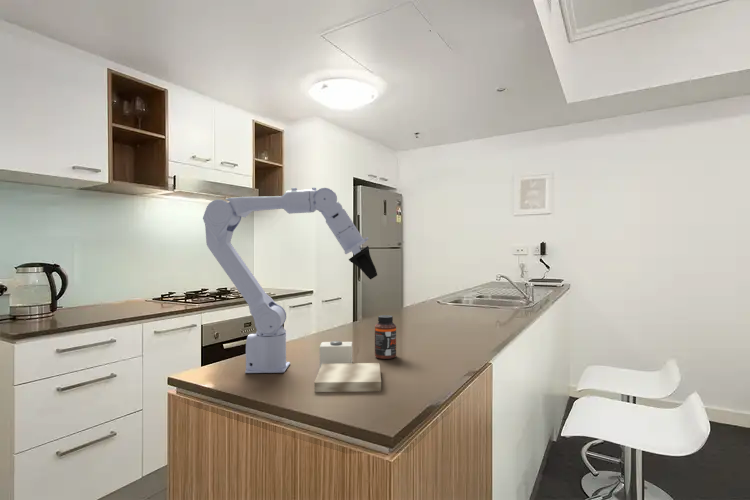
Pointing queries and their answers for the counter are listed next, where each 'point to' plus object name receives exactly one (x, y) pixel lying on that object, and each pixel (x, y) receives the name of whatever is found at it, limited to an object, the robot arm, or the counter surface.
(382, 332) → the supplement bottle
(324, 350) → the housing
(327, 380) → the stand
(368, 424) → the counter surface
